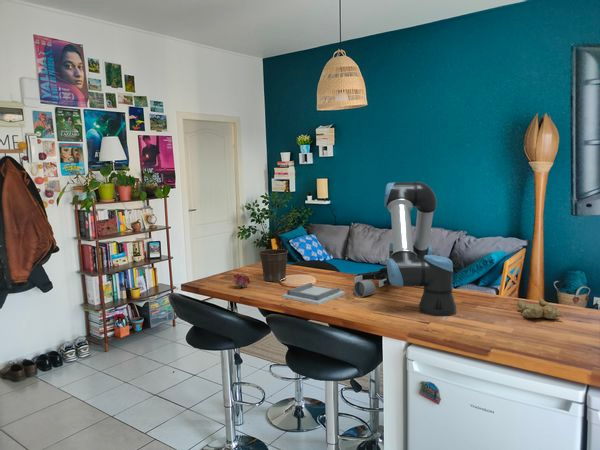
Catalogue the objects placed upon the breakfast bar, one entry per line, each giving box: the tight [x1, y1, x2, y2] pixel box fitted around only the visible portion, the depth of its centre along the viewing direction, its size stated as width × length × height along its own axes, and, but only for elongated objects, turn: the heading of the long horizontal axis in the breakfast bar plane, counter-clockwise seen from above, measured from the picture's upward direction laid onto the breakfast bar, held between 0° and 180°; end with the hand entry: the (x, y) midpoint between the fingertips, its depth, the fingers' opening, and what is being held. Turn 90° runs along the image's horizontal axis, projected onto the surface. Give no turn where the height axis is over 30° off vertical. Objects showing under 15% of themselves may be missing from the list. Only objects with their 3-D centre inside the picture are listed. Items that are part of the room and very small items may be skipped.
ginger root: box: [516, 297, 564, 320], centre depth 179 cm, size 16×16×8 cm
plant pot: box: [258, 248, 289, 283], centre depth 250 cm, size 16×16×16 cm
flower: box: [232, 273, 251, 290], centre depth 235 cm, size 10×9×8 cm
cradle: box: [281, 282, 346, 306], centre depth 217 cm, size 22×22×3 cm
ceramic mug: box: [352, 279, 376, 298], centre depth 217 cm, size 11×8×8 cm
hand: (366, 282), depth 218 cm, fingers open, 13 cm apart
